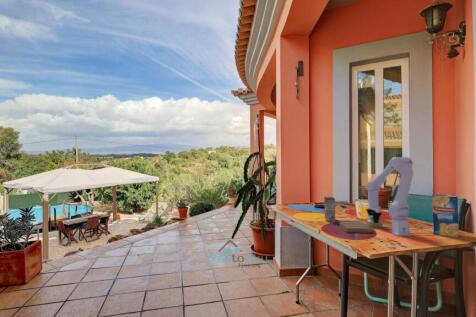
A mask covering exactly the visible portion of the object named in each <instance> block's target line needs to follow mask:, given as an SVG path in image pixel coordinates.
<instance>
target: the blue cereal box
mask: <svg viewBox="0 0 476 317" xmlns="http://www.w3.org/2000/svg"><path fill="white" fill-rule="evenodd" d="M458 198H459V197H458V196H457V195H456V194H441V193H440V194H438V193H436V194H435V193H432V194H431V201H432V202H431V203H432V205H431V206H432V232H433V235H434V236H436V235H437V236H444V237H451V238H452V237H453V238H460V235H459V234H460V233H459V208H458V206H459V204H458Z"/></svg>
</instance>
